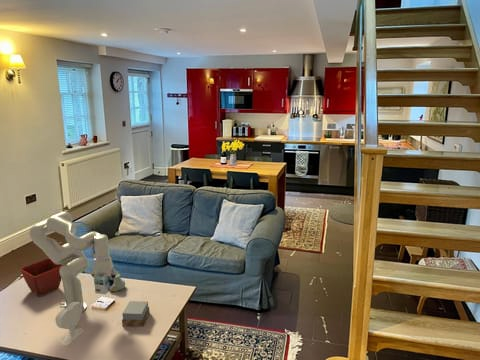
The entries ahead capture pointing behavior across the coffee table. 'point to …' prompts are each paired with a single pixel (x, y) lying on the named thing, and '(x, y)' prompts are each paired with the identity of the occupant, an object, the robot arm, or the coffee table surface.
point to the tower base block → (136, 321)
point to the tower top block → (135, 310)
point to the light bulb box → (102, 284)
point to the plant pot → (42, 276)
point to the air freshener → (118, 283)
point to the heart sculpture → (70, 320)
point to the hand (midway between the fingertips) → (105, 284)
